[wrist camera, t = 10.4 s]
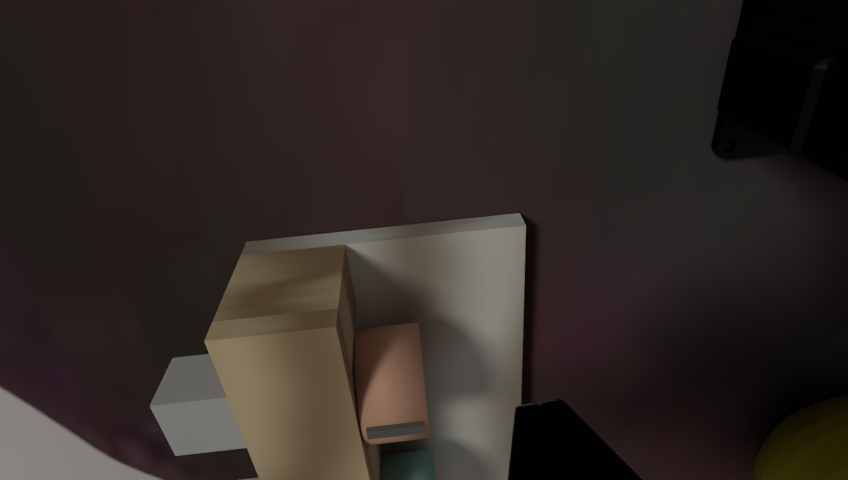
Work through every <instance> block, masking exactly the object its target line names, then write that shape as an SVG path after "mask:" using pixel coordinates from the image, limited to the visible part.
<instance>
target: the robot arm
mask: <svg viewBox="0 0 848 480" xmlns="http://www.w3.org/2000/svg"><path fill="white" fill-rule="evenodd" d="M717 109H718V111H719V113H718V117H717V122H716V126H715V131H714V135H713V140H712V150H713V152H714V153H715V154H717V155H718V156H720V157H722V158H724V159H730V158H740V157H750V156H759V155H769V154H779V153H788V152H790V153H791V154H797V155H799V156H801V157H803V158H805V159H806V160H808V161H810V162H812V163H814V164H815V165H817V166H819V167H821V168H823V169H825V170H826V171H828V172H830V173H832V174H834V175H836V176H837V177H839V178H841V179H843V180H845V181H846V182H848V0H743V5H742V9H741V14H740V18H739V23H738V27H737V32H736V36H735V37H734V39H733V40H732V43H731V48H730V53H729V57H728V62H727V66H726V71H725V75H724V80H723V84H722V89H721V94H720V98H719V103H718V108H717ZM730 140H731V143H730V145H729V146H728V147H727V148H724V146H725V144H726V143H727V142H728V141H730ZM508 480H642V479H641V478H640V477H639V476H638V475H637V474H636V473H635V472H634V471H633V470H632V469H631V468H630V467H629V466H628V465H627V464H626V463H625V462H624V461H623V460H622V459H621V458H620V457H619V456H618V455H617V454H616V453H615V452H614V451H613V450H612V449H611V448H610V447H609V446H608V445H607V444H606V443H605V442H604V441H603V440H602V439H601V438H600V437H599V436H598V435H597V434H596V433H595V432H594V431H593V430H592V429H591V428H590V427H589V426H588V425H587V424H586V423H585V422H584V421H583V420H582V419H581V418H580V417H579V416H578V415H577V414H576V413H575V412H574V411H573V410H572V409H571V408H570V407H569V406H568V405H567V404H566V403H565V402H564V401H563V400H561V399H555V400H549V401H543V402H540V403H539V405H538V404H536V403H531V404H525V405H519V406H517V407H516V408H515V414H514V424H513V433H512V443H511V452H510V462H509V472H508Z"/></svg>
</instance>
